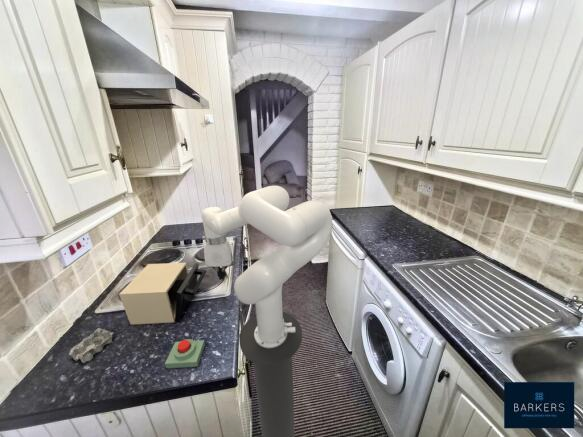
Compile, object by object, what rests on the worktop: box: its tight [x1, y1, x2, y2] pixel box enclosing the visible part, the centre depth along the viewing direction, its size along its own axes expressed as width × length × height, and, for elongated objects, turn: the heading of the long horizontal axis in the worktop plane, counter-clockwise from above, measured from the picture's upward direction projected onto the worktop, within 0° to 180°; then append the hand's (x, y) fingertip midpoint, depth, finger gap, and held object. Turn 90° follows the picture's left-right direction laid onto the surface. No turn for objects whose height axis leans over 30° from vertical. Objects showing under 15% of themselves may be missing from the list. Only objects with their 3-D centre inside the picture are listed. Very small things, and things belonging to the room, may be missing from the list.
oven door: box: [174, 262, 207, 323], centre depth 98 cm, size 6×20×15 cm, turn 3°
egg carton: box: [68, 327, 114, 364], centre depth 80 cm, size 11×8×4 cm
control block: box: [164, 338, 206, 369], centre depth 76 cm, size 10×8×4 cm
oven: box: [118, 262, 189, 325], centre depth 97 cm, size 17×20×15 cm
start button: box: [178, 339, 190, 353], centre depth 75 cm, size 4×4×2 cm
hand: (222, 277), depth 96 cm, fingers closed
